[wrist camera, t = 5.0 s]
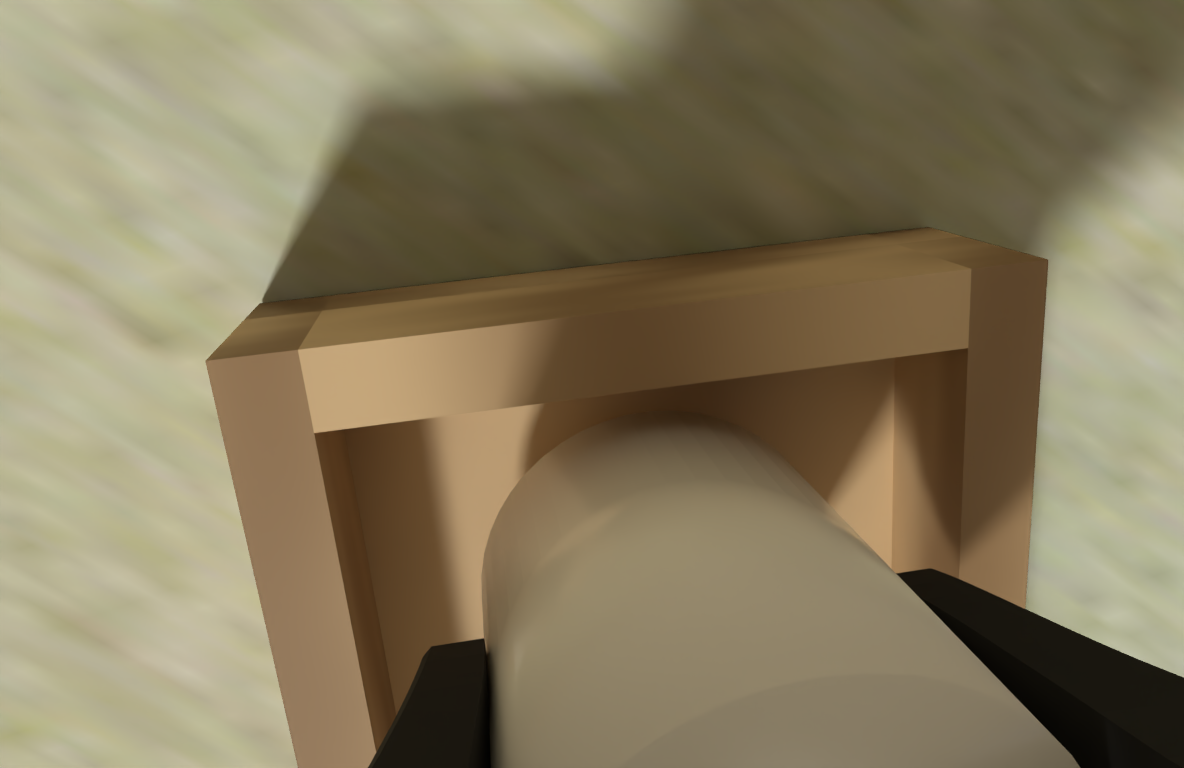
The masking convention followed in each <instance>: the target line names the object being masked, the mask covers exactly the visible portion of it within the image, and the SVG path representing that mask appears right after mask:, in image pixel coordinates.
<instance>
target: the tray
mask: <svg viewBox="0 0 1184 768" xmlns="http://www.w3.org/2000/svg"><path fill="white" fill-rule="evenodd" d="M1047 272H1048V259H1044V258H1040V257H1037V256H1033V255H1029V254H1026V253H1022V252H1018V251H1015V250H1011V249H1007V248H1003V247H1000V246H996V245H992V244H989V243H985V242H981V241H978V240H974V239H970V238H967V237H963V236H959V235H956V234H952V233H948V232H945V231H941V230H937V229H933V228H930V227H925V228H917V229H908V230H899V231H890V232H882V233H873V234H864V235H855V236H847V237H838V238H829V239H820V240H812V241H803V242H794V243H785V244H777V245H768V246H759V247H750V248H742V249H733V250H724V251H715V252H707V253H698V254H689V255H680V256H672V257H663V258H654V259H645V260H637V261H628V262H619V263H610V264H602V265H593V266H584V267H575V268H567V269H558V270H549V271H540V272H532V273H523V274H514V275H505V276H497V277H488V278H479V279H470V280H462V281H453V282H444V283H435V284H427V285H418V286H409V287H400V288H392V289H383V290H374V291H365V292H357V293H348V294H339V295H330V296H322V297H313V298H304V299H295V300H287V301H278V302H269V303H260V304H259V305H258V306H257V307H256V308H255V309H254V310H253V311H252V312H251V313H250V314H249V315H248V317H247V318H246V319H245V320H244V321H243V322H242V323H241V324H240V325H239V326H238V327H237V328H236V329H235V330H234V331H233V332H232V333H231V335H230V336H229V337H228V338H227V339H226V340H225V341H224V342H223V343H222V344H221V345H220V346H219V347H218V348H217V349H216V350H215V351H214V352H213V354H212V355H211V356H210V357H209V358H208V359H207V360H206V365H207V370H208V374H209V378H210V383H211V387H212V392H213V396H214V400H215V405H216V409H217V414H218V418H219V422H220V427H221V431H222V436H223V440H224V444H225V449H226V453H227V457H228V462H229V466H230V471H231V475H232V479H233V484H234V488H235V493H236V497H237V501H238V506H239V510H240V515H241V519H242V523H243V528H244V532H245V536H246V541H247V545H248V550H249V554H250V558H251V563H252V567H253V572H254V576H255V580H256V585H257V589H258V594H259V598H260V602H261V607H262V611H263V615H264V620H265V624H266V629H267V633H268V637H269V642H270V646H271V651H272V655H273V659H274V664H275V668H276V673H277V677H278V681H279V686H280V690H281V695H282V699H283V703H284V708H285V712H286V716H287V721H288V725H289V730H290V734H291V738H292V743H293V747H294V752H295V756H296V760H297V765H298V768H368V767H369V765H370V763H371V761H372V759H373V758H374V756H375V754H376V752H377V750H378V749H379V747H380V745H381V743H382V741H383V740H384V738H385V736H386V734H387V732H388V730H389V729H390V727H391V725H392V723H393V721H394V719H395V717H396V715H397V713H398V711H399V709H400V707H401V705H402V703H403V701H404V699H405V697H406V695H407V693H408V691H409V689H410V686H411V684H412V682H413V680H414V677H415V675H416V673H417V670H418V668H419V665H420V663H421V660H422V658H423V656H424V655H425V653H426V652H427V651H428V650H429V649H430V647H431V646H437V645H443V644H450V643H456V642H462V641H469V640H475V639H481V638H484V631H483V612H482V585H481V574H482V566H483V558H484V552H485V548H486V545H487V541H488V537H489V534H490V531H491V529H492V526H493V524H494V522H495V519H496V517H497V515H498V512H499V511H500V509H501V507H502V506H503V504H504V502H505V501H506V499H507V497H508V496H509V494H510V492H511V491H512V490H513V488H514V487H515V486H516V485H517V483H518V482H519V481H520V480H521V478H522V477H523V476H524V475H525V473H526V472H527V471H529V470H530V469H531V468H532V467H533V466H534V465H535V464H536V463H537V462H538V461H539V460H540V459H541V458H542V457H543V456H544V455H546V454H547V453H548V452H550V451H551V450H552V449H554V448H555V447H556V446H558V445H559V444H560V443H562V442H564V441H565V440H567V439H569V438H570V437H572V436H574V435H576V434H577V433H579V432H581V431H583V430H585V429H588V428H590V427H592V426H595V425H597V424H599V423H602V422H604V421H608V420H611V419H615V418H618V417H622V416H625V415H630V414H636V413H643V412H649V411H684V412H694V413H700V414H704V415H708V416H713V417H717V418H720V419H723V420H726V421H728V422H731V423H733V424H736V425H739V426H741V427H743V428H744V429H746V430H748V431H750V432H752V433H753V434H755V435H757V436H759V437H760V438H762V439H763V440H764V441H765V442H767V443H768V444H769V445H771V446H772V447H773V448H775V449H776V450H777V451H778V452H779V453H780V454H781V455H782V456H783V457H784V458H785V459H786V460H787V461H788V462H789V463H790V464H791V465H792V466H793V467H794V468H795V470H796V471H797V472H798V473H799V474H800V475H801V476H802V477H803V478H804V479H805V480H806V481H807V482H808V483H809V484H810V485H811V486H812V487H813V488H814V489H815V490H816V491H817V492H818V493H819V494H820V495H821V496H822V497H823V498H824V499H825V501H826V502H827V503H828V504H829V505H830V506H831V507H832V508H833V509H834V510H835V511H836V512H837V513H838V514H839V515H840V516H841V517H842V518H843V519H844V520H845V521H846V522H847V523H848V524H849V525H850V526H851V527H852V528H853V529H854V531H855V532H856V533H857V534H858V535H859V536H860V537H861V538H862V539H863V540H864V541H865V542H866V543H867V544H868V545H869V546H870V547H871V548H872V549H873V550H874V551H875V552H876V553H877V554H878V555H879V556H880V557H881V558H882V559H883V560H884V562H885V563H886V564H887V565H888V566H889V567H890V568H891V569H892V570H893V571H894V572H895V573H902V572H909V571H915V570H921V569H928V568H932V569H935V570H937V571H940V572H943V573H946V574H948V575H951V576H953V577H955V578H958V579H960V580H963V581H965V582H967V583H969V584H972V585H974V586H976V587H978V588H981V589H983V590H985V591H987V592H989V593H992V594H994V595H996V596H998V597H1000V598H1002V599H1005V600H1007V601H1009V602H1011V603H1013V604H1015V605H1018V606H1020V607H1022V608H1024V609H1025V603H1026V588H1027V573H1028V558H1029V543H1030V528H1031V513H1032V498H1033V483H1034V468H1035V453H1036V437H1037V422H1038V407H1039V392H1040V377H1041V362H1042V347H1043V332H1044V317H1045V302H1046V287H1047Z"/></svg>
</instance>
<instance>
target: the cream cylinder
mask: <svg viewBox="0 0 1184 768" xmlns="http://www.w3.org/2000/svg"><path fill="white" fill-rule="evenodd" d="M481 585H482V612H483V631H484V640H485V647H486V654H487V673H488V691H489V735H490V765H491V768H1080V767H1079V765H1078V764H1077V762H1076V761H1075V759H1074V758H1073V756H1072V755H1071V754H1070V753H1069V752H1068V751H1067V750H1066V749H1065V748H1064V747H1063V746H1062V745H1061V743H1060V742H1059V741H1058V740H1057V739H1056V738H1055V737H1054V736H1053V735H1052V734H1051V733H1050V732H1049V731H1048V730H1047V729H1046V728H1045V727H1044V726H1043V725H1042V724H1041V723H1040V722H1039V721H1038V720H1037V719H1036V718H1035V717H1034V716H1033V715H1032V713H1031V712H1030V711H1029V710H1028V709H1027V708H1026V707H1025V706H1024V705H1023V704H1022V703H1021V702H1020V701H1019V700H1018V699H1017V698H1016V697H1015V696H1014V695H1013V694H1012V693H1011V692H1010V691H1009V690H1008V689H1007V688H1006V687H1005V686H1004V685H1003V684H1002V682H1001V681H1000V680H999V679H998V678H997V677H996V676H995V675H994V674H993V673H992V672H991V671H990V670H989V669H988V668H987V667H986V666H985V665H984V664H983V663H982V662H981V661H980V660H979V659H978V658H977V657H976V656H975V655H974V654H973V653H972V651H971V650H970V649H969V648H968V647H967V646H966V645H965V644H964V643H963V642H962V641H961V640H960V639H959V638H958V637H957V636H956V635H955V634H954V633H953V632H952V631H951V630H950V629H949V628H948V627H947V626H946V625H945V624H944V623H943V621H942V620H941V619H940V618H939V617H938V616H937V615H936V614H935V613H934V612H933V611H932V610H931V609H930V608H929V607H928V606H927V605H926V604H925V603H924V602H923V601H922V600H921V599H920V598H919V597H918V596H917V595H916V594H915V593H914V592H913V590H912V589H911V588H910V587H909V586H908V585H907V584H906V583H905V582H904V581H903V580H902V579H901V578H900V577H899V576H898V575H897V574H896V573H895V572H894V571H893V570H892V569H891V568H890V567H889V566H888V565H887V564H886V563H885V562H884V560H883V559H882V558H881V557H880V556H879V555H878V554H877V553H876V552H875V551H874V550H873V549H872V548H871V547H870V546H869V545H868V544H867V543H866V542H865V541H864V540H863V539H862V538H861V537H860V536H859V535H858V534H857V533H856V532H855V531H854V529H853V528H852V527H851V526H850V525H849V524H848V523H847V522H846V521H845V520H844V519H843V518H842V517H841V516H840V515H839V514H838V513H837V512H836V511H835V510H834V509H833V508H832V507H831V506H830V505H829V504H828V503H827V502H826V501H825V499H824V498H823V497H822V496H821V495H820V494H819V493H818V492H817V491H816V490H815V489H814V488H813V487H812V486H811V485H810V484H809V483H808V482H807V481H806V480H805V479H804V478H803V477H802V476H801V475H800V474H799V473H798V472H797V471H796V470H795V468H794V467H793V466H792V465H791V464H790V463H789V462H788V461H787V460H786V459H785V458H784V457H783V456H782V455H781V454H780V453H779V452H778V451H777V450H776V449H775V448H773V447H772V446H771V445H769V444H768V443H767V442H765V441H764V440H763V439H762V438H760V437H759V436H757V435H755V434H753V433H752V432H750V431H748V430H746V429H744V428H743V427H741V426H739V425H736V424H733V423H731V422H728V421H726V420H723V419H720V418H717V417H713V416H708V415H704V414H700V413H694V412H684V411H649V412H643V413H636V414H630V415H625V416H622V417H618V418H615V419H611V420H608V421H604V422H602V423H599V424H597V425H595V426H592V427H590V428H588V429H585V430H583V431H581V432H579V433H577V434H576V435H574V436H572V437H570V438H569V439H567V440H565V441H564V442H562V443H560V444H559V445H558V446H556V447H555V448H554V449H552V450H551V451H550V452H548V453H547V454H546V455H544V456H543V457H542V458H541V459H540V460H539V461H538V462H537V463H536V464H535V465H534V466H533V467H532V468H531V469H530V470H529V471H527V472H526V473H525V475H524V476H523V477H522V478H521V480H520V481H519V482H518V483H517V485H516V486H515V487H514V488H513V490H512V491H511V492H510V494H509V496H508V497H507V499H506V501H505V502H504V504H503V506H502V507H501V509H500V511H499V512H498V515H497V517H496V519H495V522H494V524H493V526H492V529H491V531H490V534H489V537H488V541H487V545H486V548H485V552H484V558H483V566H482V574H481Z"/></svg>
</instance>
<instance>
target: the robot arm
mask: <svg viewBox="0 0 1184 768" xmlns="http://www.w3.org/2000/svg"><path fill="white" fill-rule="evenodd" d="M896 574H897V575H898V576H899V577H900V578H901V579H902V580H903V581H904V582H905V583H906V584H907V585H908V586H909V587H910V588H911V589H912V590H913V592H914V593H915V594H916V595H917V596H918V597H919V598H920V599H921V600H922V601H923V602H924V603H925V604H926V605H927V606H928V607H929V608H930V609H931V610H932V611H933V612H934V613H935V614H936V615H937V616H938V617H939V618H940V619H941V620H942V621H943V623H944V624H945V625H946V626H947V627H948V628H949V629H950V630H951V631H952V632H953V633H954V634H955V635H956V636H957V637H958V638H959V639H960V640H961V641H962V642H963V643H964V644H965V645H966V646H967V647H968V648H969V649H970V650H971V651H972V653H973V654H974V655H975V656H976V657H977V658H978V659H979V660H980V661H981V662H982V663H983V664H984V665H985V666H986V667H987V668H988V669H989V670H990V671H991V672H992V673H993V674H994V675H995V676H996V677H997V678H998V679H999V680H1000V681H1001V682H1002V684H1003V685H1004V686H1005V687H1006V688H1007V689H1008V690H1009V691H1010V692H1011V693H1012V694H1013V695H1014V696H1015V697H1016V698H1017V699H1018V700H1019V701H1020V702H1021V703H1022V704H1023V705H1024V706H1025V707H1026V708H1027V709H1028V710H1029V711H1030V712H1031V713H1032V715H1033V716H1034V717H1035V718H1036V719H1037V720H1038V721H1039V722H1040V723H1041V724H1042V725H1043V726H1044V727H1045V728H1046V729H1047V730H1048V731H1049V732H1050V733H1051V734H1052V735H1053V736H1054V737H1055V738H1056V739H1057V740H1058V741H1059V742H1060V743H1061V745H1062V746H1063V747H1064V748H1065V749H1066V750H1067V751H1068V752H1069V753H1070V754H1071V755H1072V756H1073V758H1074V759H1075V761H1076V762H1077V764H1078V765H1079V767H1080V768H1184V678H1183V677H1181V676H1178V675H1176V674H1173V673H1171V672H1168V671H1166V670H1163V669H1161V668H1158V667H1156V666H1153V665H1151V664H1148V663H1146V662H1143V661H1141V660H1138V659H1136V658H1134V657H1131V656H1129V655H1127V654H1124V653H1122V652H1120V651H1117V650H1115V649H1112V648H1110V647H1108V646H1106V645H1103V644H1101V643H1099V642H1096V641H1094V640H1092V639H1090V638H1087V637H1085V636H1083V635H1081V634H1079V633H1076V632H1074V631H1072V630H1070V629H1067V628H1065V627H1063V626H1061V625H1059V624H1056V623H1054V622H1052V621H1050V620H1048V619H1046V618H1043V617H1041V616H1039V615H1037V614H1035V613H1033V612H1030V611H1028V610H1026V609H1024V608H1022V607H1020V606H1018V605H1015V604H1013V603H1011V602H1009V601H1007V600H1005V599H1002V598H1000V597H998V596H996V595H994V594H992V593H989V592H987V591H985V590H983V589H981V588H978V587H976V586H974V585H972V584H969V583H967V582H965V581H963V580H960V579H958V578H955V577H953V576H951V575H948V574H946V573H943V572H940V571H937V570H935V569H932V568H928V569H921V570H915V571H909V572H902V573H896ZM368 768H491V765H490V735H489V691H488V673H487V654H486V647H485V640H484V638H481V639H475V640H469V641H462V642H456V643H450V644H443V645H437V646H431V647H430V649H429V650H428V651H427V652H426V653H425V655H424V656H423V658H422V660H421V663H420V665H419V668H418V670H417V673H416V675H415V677H414V680H413V682H412V684H411V686H410V689H409V691H408V693H407V695H406V697H405V699H404V701H403V703H402V705H401V707H400V709H399V711H398V713H397V715H396V717H395V719H394V721H393V723H392V725H391V727H390V729H389V730H388V732H387V734H386V736H385V738H384V740H383V741H382V743H381V745H380V747H379V749H378V750H377V752H376V754H375V756H374V758H373V759H372V761H371V763H370V765H369V767H368Z"/></svg>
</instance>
